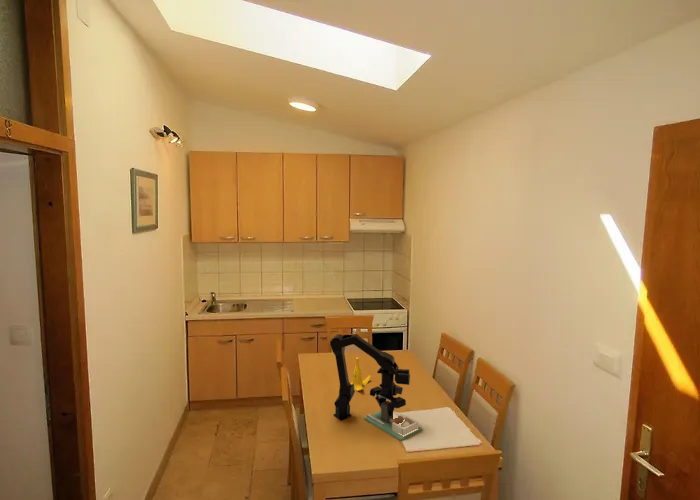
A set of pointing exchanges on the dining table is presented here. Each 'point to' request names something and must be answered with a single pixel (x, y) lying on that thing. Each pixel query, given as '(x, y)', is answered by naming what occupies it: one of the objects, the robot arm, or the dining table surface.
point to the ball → (404, 424)
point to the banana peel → (358, 377)
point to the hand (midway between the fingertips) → (387, 414)
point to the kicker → (386, 416)
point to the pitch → (394, 426)
